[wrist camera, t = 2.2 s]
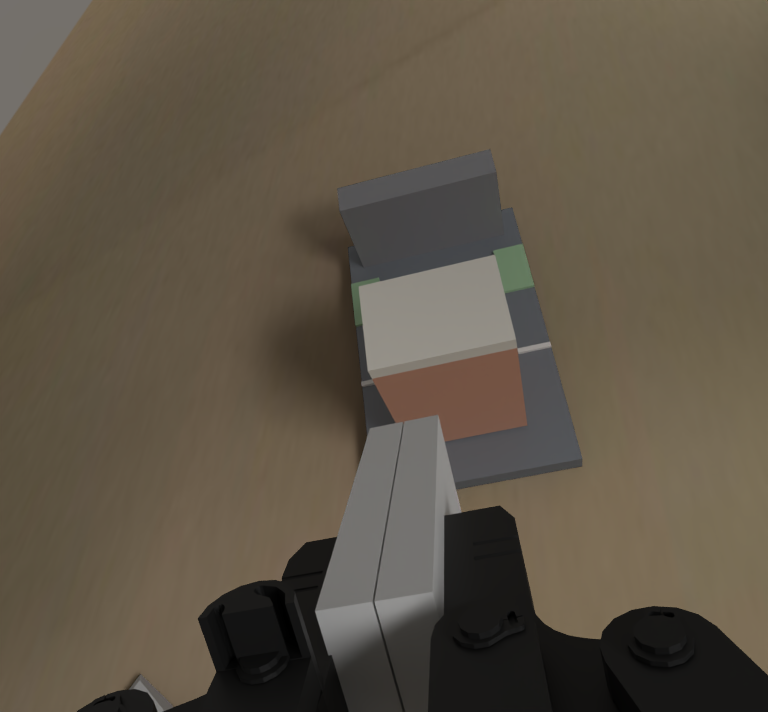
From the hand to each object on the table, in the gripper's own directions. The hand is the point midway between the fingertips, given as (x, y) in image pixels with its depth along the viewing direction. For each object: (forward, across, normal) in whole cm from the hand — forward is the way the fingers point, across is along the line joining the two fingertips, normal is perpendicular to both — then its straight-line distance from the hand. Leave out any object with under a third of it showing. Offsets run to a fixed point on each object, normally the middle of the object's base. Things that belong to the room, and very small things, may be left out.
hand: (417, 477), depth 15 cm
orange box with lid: (+25, 0, -7) cm, 26 cm away
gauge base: (+29, 0, -4) cm, 30 cm away
